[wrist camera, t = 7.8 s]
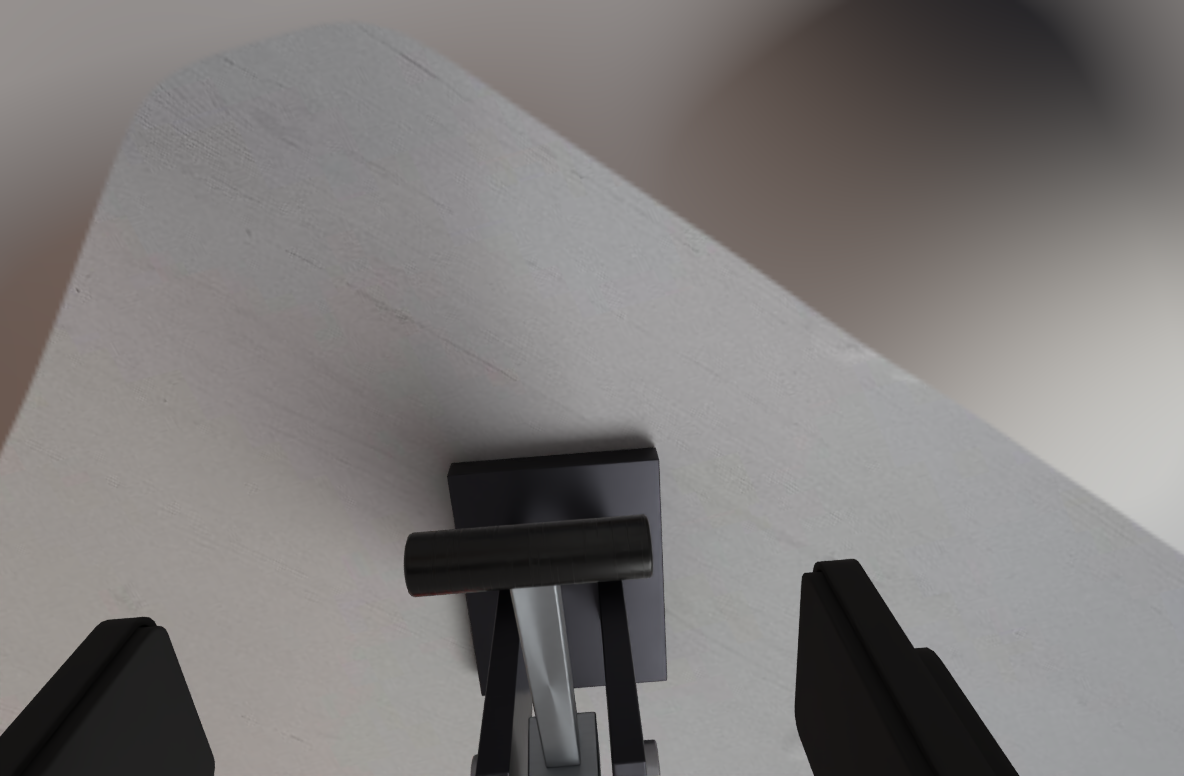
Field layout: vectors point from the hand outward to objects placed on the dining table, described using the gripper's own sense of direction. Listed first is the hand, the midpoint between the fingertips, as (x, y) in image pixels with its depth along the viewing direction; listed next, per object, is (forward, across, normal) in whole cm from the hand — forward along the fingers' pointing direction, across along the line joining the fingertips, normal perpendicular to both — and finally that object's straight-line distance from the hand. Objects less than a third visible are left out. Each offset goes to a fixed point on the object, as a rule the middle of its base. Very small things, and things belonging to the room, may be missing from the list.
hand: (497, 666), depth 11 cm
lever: (+8, 0, +7) cm, 11 cm away
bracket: (+20, 0, +13) cm, 23 cm away
